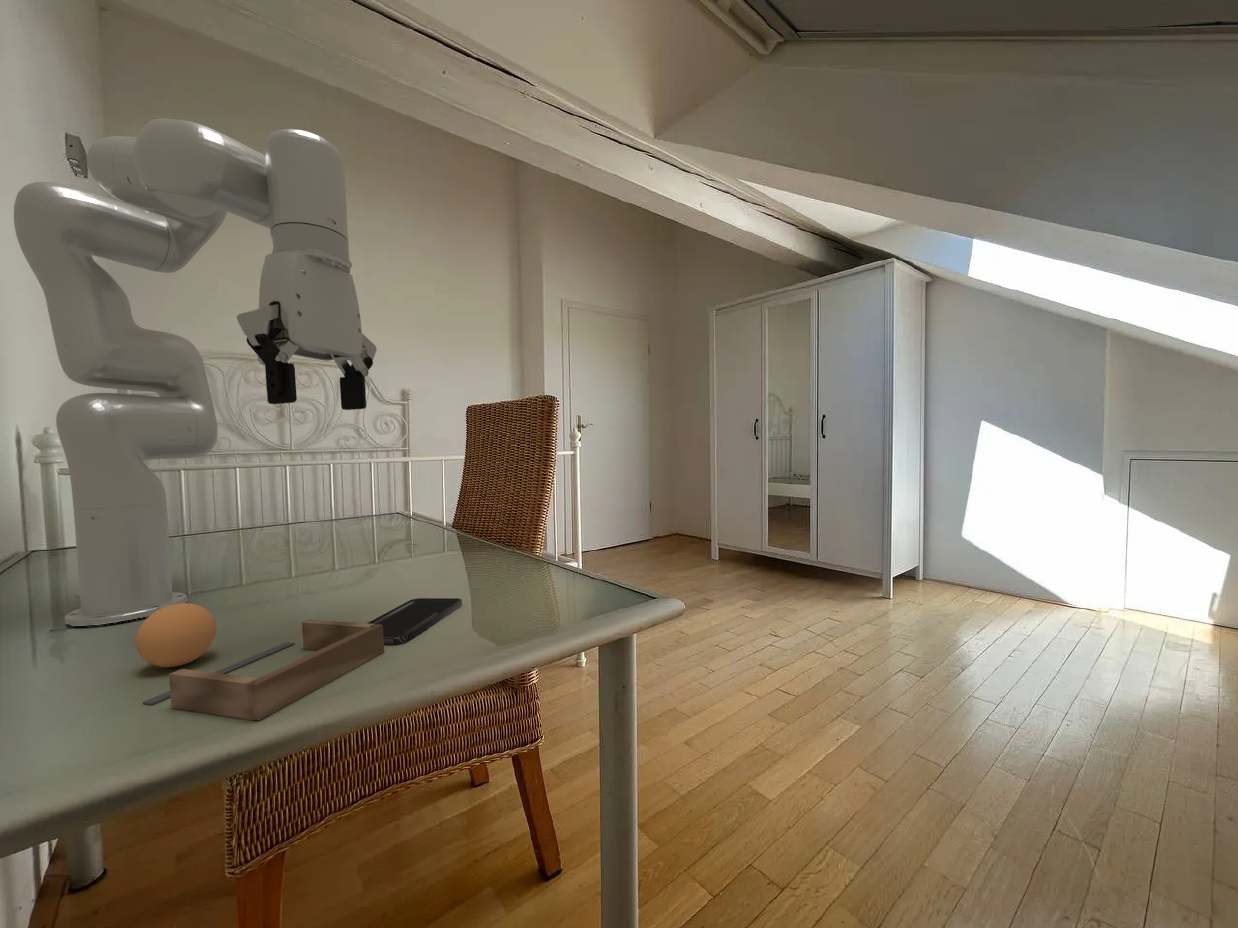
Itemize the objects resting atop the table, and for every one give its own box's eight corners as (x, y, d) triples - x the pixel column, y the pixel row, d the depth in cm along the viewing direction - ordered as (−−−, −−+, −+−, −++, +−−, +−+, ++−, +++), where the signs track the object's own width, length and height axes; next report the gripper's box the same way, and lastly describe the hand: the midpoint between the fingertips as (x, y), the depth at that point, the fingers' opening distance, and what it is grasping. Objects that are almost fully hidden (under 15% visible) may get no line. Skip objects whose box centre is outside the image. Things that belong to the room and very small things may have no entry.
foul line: (142, 703, 45) (142, 701, 45) (286, 643, 58) (286, 641, 58) (152, 705, 44) (152, 703, 44) (294, 643, 58) (294, 642, 58)
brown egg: (121, 675, 51) (117, 612, 51) (191, 650, 57) (187, 594, 57) (166, 680, 49) (161, 616, 49) (232, 654, 55) (229, 596, 55)
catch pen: (171, 707, 44) (169, 673, 44) (311, 645, 57) (309, 619, 57) (258, 720, 41) (256, 684, 41) (384, 652, 54) (382, 624, 54)
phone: (339, 637, 57) (414, 597, 72) (340, 647, 57) (414, 605, 72) (403, 639, 56) (465, 598, 71) (403, 649, 56) (465, 606, 71)
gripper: (344, 282, 66) (352, 412, 67) (206, 228, 49) (217, 402, 50) (393, 274, 64) (400, 409, 65) (265, 215, 47) (277, 397, 48)
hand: (321, 406), depth 57 cm, fingers open, 9 cm apart
